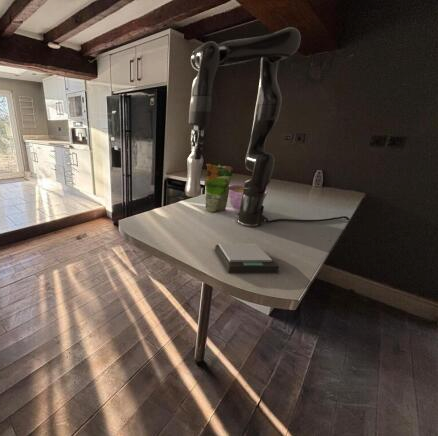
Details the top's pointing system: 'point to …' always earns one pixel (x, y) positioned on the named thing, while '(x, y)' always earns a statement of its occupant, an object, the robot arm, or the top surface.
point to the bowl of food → (237, 195)
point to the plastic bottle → (193, 175)
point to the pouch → (217, 187)
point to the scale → (245, 258)
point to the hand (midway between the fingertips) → (195, 157)
